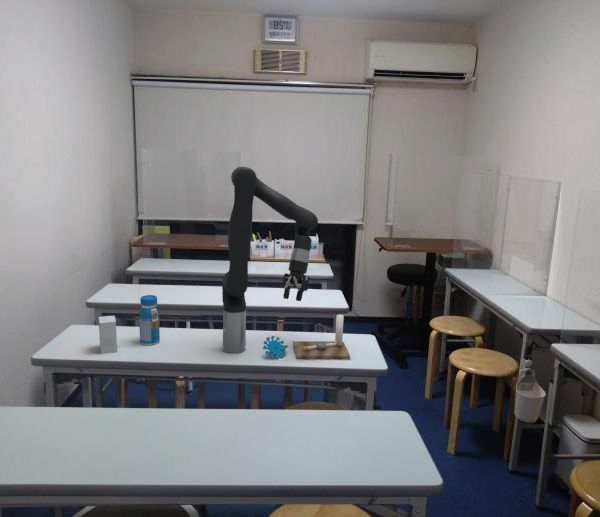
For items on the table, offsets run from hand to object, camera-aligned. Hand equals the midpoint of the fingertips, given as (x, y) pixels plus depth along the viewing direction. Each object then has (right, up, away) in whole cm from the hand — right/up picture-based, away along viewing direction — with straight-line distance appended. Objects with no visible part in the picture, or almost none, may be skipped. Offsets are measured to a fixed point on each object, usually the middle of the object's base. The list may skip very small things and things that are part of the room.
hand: (291, 299), depth 207 cm
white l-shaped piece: (+13, -21, +7) cm, 25 cm away
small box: (-75, -21, +1) cm, 78 cm away
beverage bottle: (-61, -19, +11) cm, 65 cm away
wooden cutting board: (+12, -22, +7) cm, 26 cm away
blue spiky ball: (-7, -23, +1) cm, 24 cm away
